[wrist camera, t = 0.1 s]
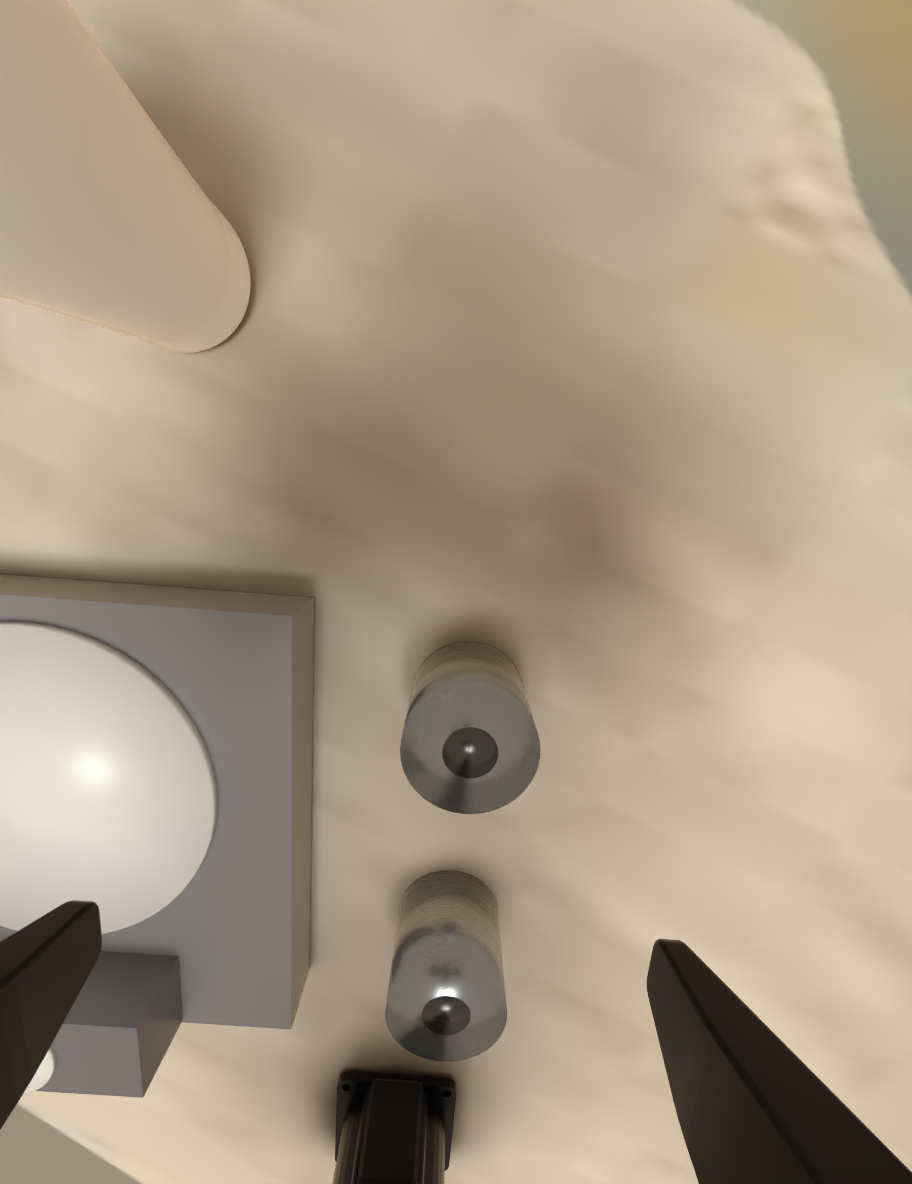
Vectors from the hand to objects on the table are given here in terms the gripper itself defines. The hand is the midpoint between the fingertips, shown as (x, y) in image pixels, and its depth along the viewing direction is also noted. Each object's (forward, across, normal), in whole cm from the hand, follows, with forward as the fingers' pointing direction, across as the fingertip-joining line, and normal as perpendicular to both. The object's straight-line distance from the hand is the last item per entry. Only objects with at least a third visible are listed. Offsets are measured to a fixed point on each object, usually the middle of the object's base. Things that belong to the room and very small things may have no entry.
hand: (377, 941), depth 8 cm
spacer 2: (+15, -2, +14) cm, 20 cm away
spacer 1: (+14, -2, +2) cm, 15 cm away
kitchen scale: (+14, +15, +8) cm, 22 cm away
